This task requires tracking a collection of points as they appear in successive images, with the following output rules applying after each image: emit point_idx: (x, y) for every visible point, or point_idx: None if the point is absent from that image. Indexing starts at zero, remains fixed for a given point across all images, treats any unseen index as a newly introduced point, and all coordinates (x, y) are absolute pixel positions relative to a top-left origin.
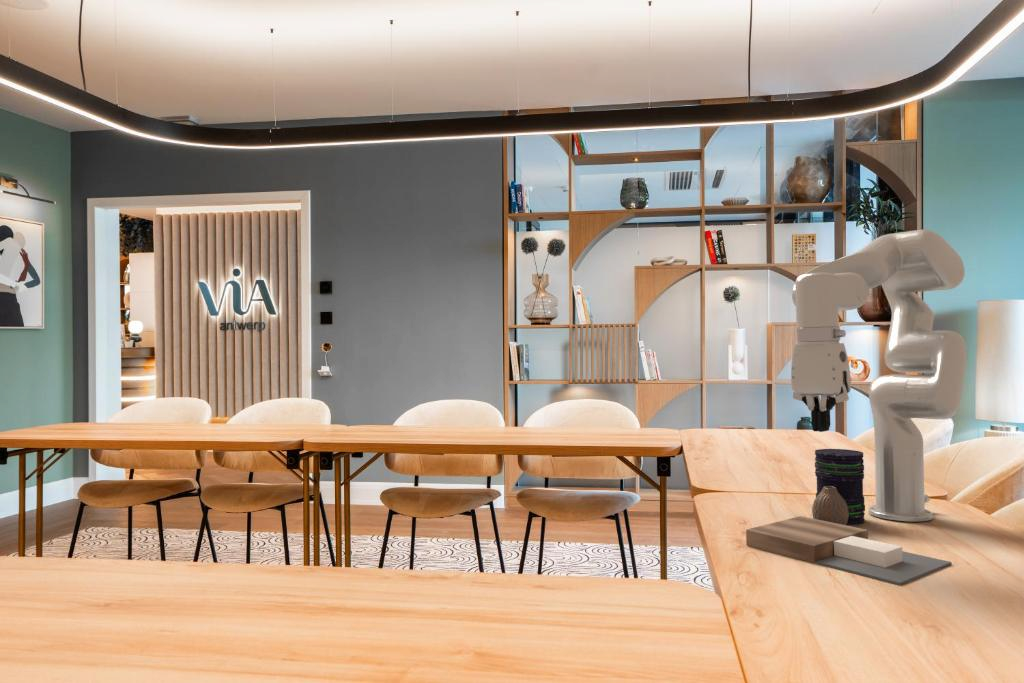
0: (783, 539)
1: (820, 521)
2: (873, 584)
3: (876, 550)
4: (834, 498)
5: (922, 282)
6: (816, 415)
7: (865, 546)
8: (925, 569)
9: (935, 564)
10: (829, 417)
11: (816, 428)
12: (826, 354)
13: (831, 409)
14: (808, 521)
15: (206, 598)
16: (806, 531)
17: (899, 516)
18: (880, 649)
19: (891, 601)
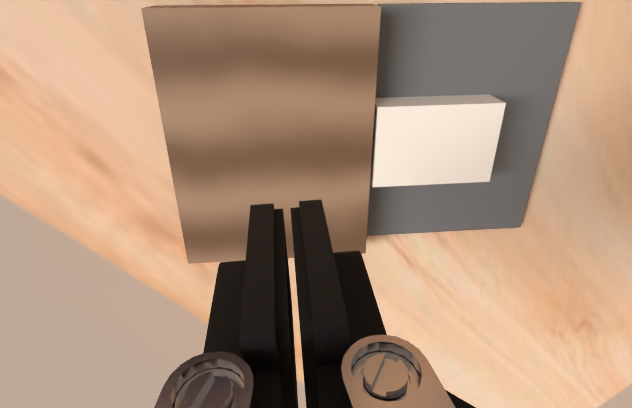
0: (290, 256)
1: (232, 26)
2: (482, 251)
3: (470, 179)
4: None
5: None
6: (297, 404)
7: (441, 169)
8: (541, 115)
9: (552, 57)
10: (374, 308)
11: (292, 316)
12: None
13: (405, 348)
14: (210, 58)
15: None
16: (283, 166)
17: None
18: (548, 402)
19: (524, 292)
